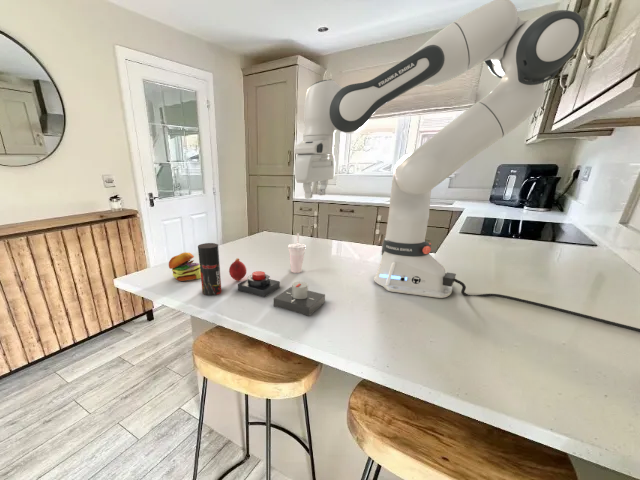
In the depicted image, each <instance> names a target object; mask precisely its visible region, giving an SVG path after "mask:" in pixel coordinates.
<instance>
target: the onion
mask: <svg viewBox="0 0 640 480" xmlns="http://www.w3.org/2000/svg"><path fill="white" fill-rule="evenodd" d="M228 272H229V276H230V277H231V278H232V279H233V280H235V281H236V282H241V280H242V279H244V278H245V276H246V274H247V267H246V265H245V264H244V263H243V262H242V261H241V260H240V258H239V257H237V258H236V259H235V260H234V261H233V262H232V263H231V264H230V266H229V269H228Z"/></svg>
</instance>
